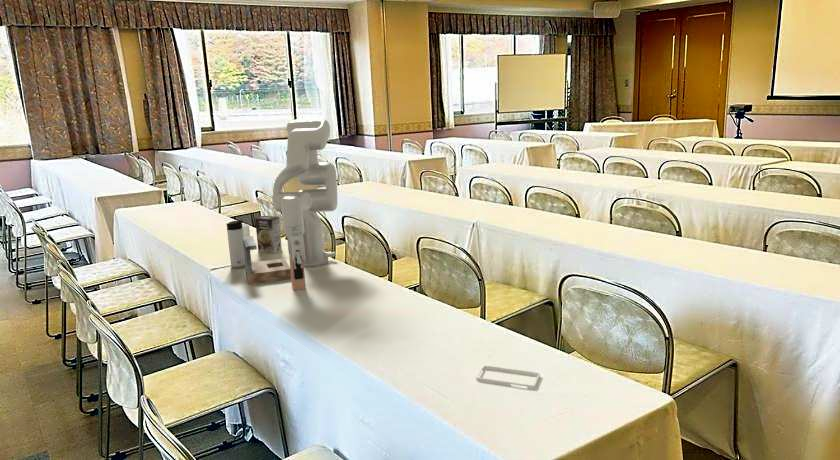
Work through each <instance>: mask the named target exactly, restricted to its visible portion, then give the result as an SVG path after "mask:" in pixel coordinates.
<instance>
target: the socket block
mask: <svg viewBox="0 0 840 460" xmlns="http://www.w3.org/2000/svg"><path fill="white" fill-rule="evenodd" d="M242 238H243V248H244V257H245V267H244V268H245V273H246V277H247V280H248V285H255V284H260V283H261V284H262V283H269V282H277V281H283V280H291V270H290V264H289V263H288V262H287V259H286V258H280V259H279V258H277V259H270V260H262V261H260V260H259V261H254V262H252V258H251V257H252V256H251V255H252V254H251V251H255V250H258V245H257V244H256V242H255V239H254V236H253V235H250V236H249V237H242Z"/></svg>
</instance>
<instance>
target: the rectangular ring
mask: <svg viewBox="0 0 840 460" xmlns="http://www.w3.org/2000/svg"><path fill="white" fill-rule="evenodd" d="M484 370H493V371H499V372H507V373H514V374H520V375H521V374H522V375H526V376H528V375H529V376H534V377H536V379H535V382H534V384H528V383H527V384H526V383H520V382H513V381H505V380H500V379H493V378H486V377H479V376H480V374H481V373H482V371H484ZM540 377H541V374H540V373H539V372H536V371H528V370H522V369H513V368H508V367H507V368H506V367H500V366H494V365H493V366H492V365H482V366H481V368H480V370H479V372H478V373H477V375H476V376H475V380H476V381H478V382H483V383H491V384H495V385H496V384H497V385H504V386H512V385H515V386H523V387H526V388H527V389H530V390H534V389H536V388H537V387H536V386H537V385H538V382H539V380H540Z"/></svg>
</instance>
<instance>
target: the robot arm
mask: <svg viewBox="0 0 840 460" xmlns="http://www.w3.org/2000/svg"><path fill="white" fill-rule="evenodd" d="M286 132H287V145H286V146H287V148H286V149H287V150H286V165H285V167H284V168H283V169H282V170H281V171H280V173H279V174H278V175H277V177H276V179H275V180H274V183H273V187H272V206H273V209H274V210H275V211H276V212H277V213H281V216H282V228H283V235H284V236H286V237H287V238H286V239H287V240H286V241H287V249H288V257H289V256H290V257H291V259H292V261H293V262H294V278H295V280H296V279H303V268H302V261H301V258H302V260H304V267H310V268H311V267H318V266H323V265H325V264H328V263H329V257H330V258H332V257H336V251H325V247H324V235H323V233H324V231H323V223H322V220H321V218H320V216H319V215H318V214H317V213H320V212H321V213H325V212H333V211H335V210H336V209H337V208H338V182H337V180H338V177H337V171H336V170H337V169H336V167H335V165H334V163H332V162H330V161H329V162H327V161H326V162H319V159H318V151H321V150H324V149H325V148H326V146H327V143H328V140H329V138H330V134H331V126H330V123H329V122H328V120H326V119H324V118H318V119H316V118H313V119H312V118H311V119H307V118H305V119H295V120H290V121H289V122H288V123H286ZM296 177H297V181H298V184H299V185H302V186H303V187H306V186H308V187H311V186H312V187H314V186H323V187H325V188H307V189H306V188H305V189H300V190H299V191H283V189H284V186H285V185H286V184H287V183H288V182H290V181H291V180H293V179H294V178H296ZM295 259H297V261H295ZM296 262H297V263H296Z"/></svg>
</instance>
